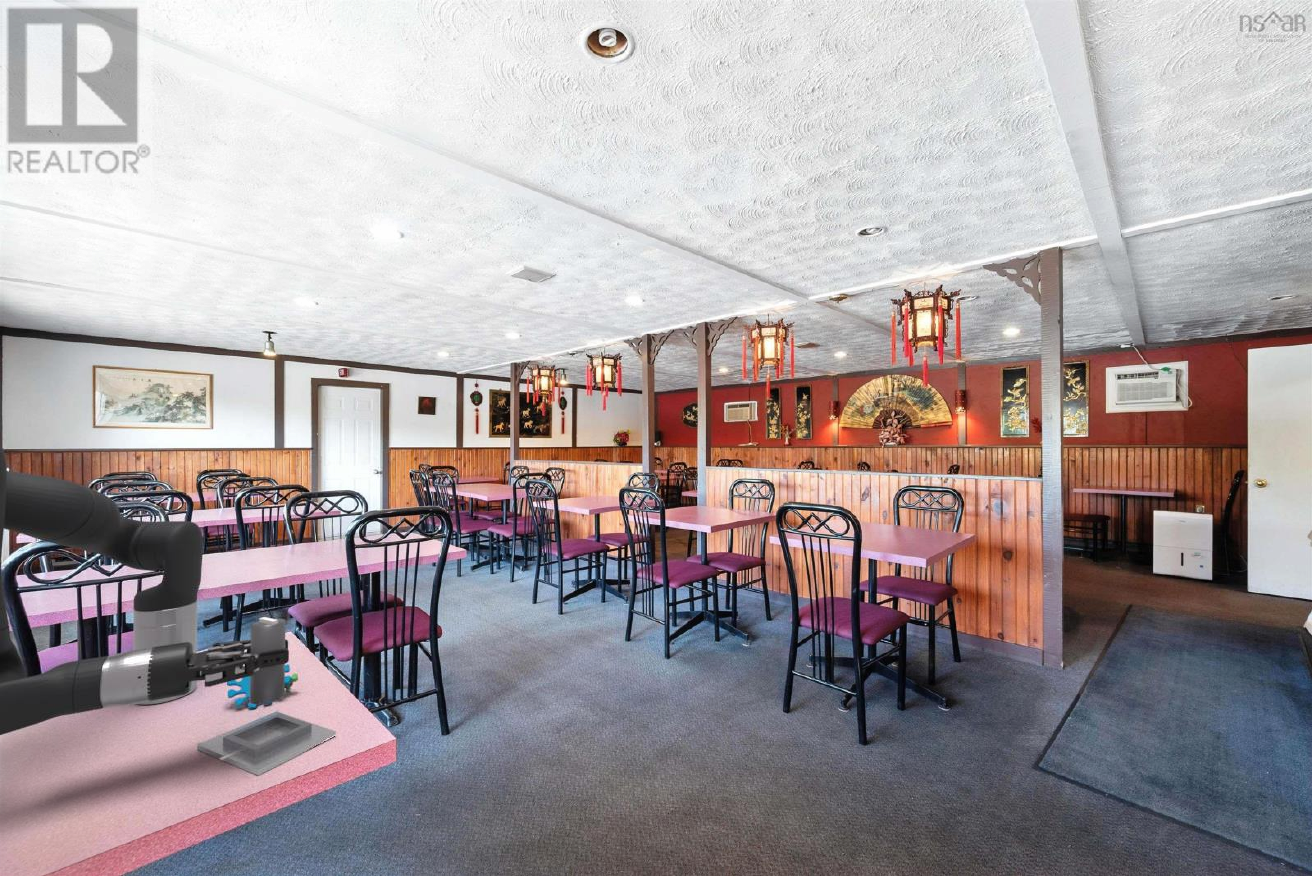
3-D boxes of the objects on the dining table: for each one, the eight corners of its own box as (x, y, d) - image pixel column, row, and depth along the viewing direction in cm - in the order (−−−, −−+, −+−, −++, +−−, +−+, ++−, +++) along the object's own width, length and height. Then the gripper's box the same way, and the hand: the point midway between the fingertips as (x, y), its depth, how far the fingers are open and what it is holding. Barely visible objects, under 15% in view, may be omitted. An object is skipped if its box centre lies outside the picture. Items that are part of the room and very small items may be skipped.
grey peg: (243, 700, 88) (244, 621, 89) (273, 689, 93) (274, 613, 93) (260, 706, 87) (261, 625, 87) (290, 694, 91) (291, 617, 91)
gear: (217, 707, 98) (236, 652, 105) (220, 720, 102) (238, 667, 109) (290, 704, 103) (303, 652, 110) (291, 717, 106) (303, 665, 113)
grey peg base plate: (191, 752, 87) (191, 739, 87) (276, 715, 99) (276, 704, 99) (252, 778, 80) (252, 764, 80) (335, 736, 92) (335, 724, 92)
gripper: (140, 664, 76) (290, 639, 86) (157, 635, 88) (287, 616, 97) (139, 719, 76) (289, 689, 85) (156, 683, 87) (287, 659, 97)
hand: (287, 650), depth 91 cm, fingers closed on grey peg, 4 cm apart
